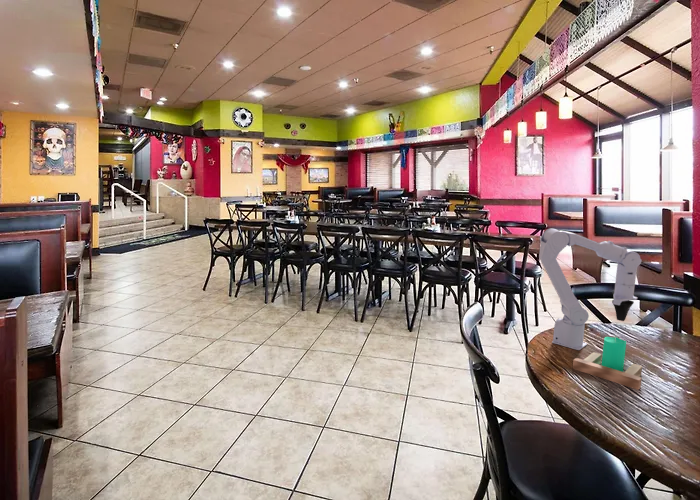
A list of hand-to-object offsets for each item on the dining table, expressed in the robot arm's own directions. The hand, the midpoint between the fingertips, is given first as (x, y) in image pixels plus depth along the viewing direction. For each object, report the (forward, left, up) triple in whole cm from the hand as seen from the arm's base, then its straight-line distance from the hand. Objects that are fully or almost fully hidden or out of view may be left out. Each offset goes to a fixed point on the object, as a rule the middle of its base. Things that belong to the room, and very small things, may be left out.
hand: (620, 320), depth 146 cm
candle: (+5, -22, -11) cm, 25 cm away
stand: (+5, -24, -10) cm, 27 cm away
